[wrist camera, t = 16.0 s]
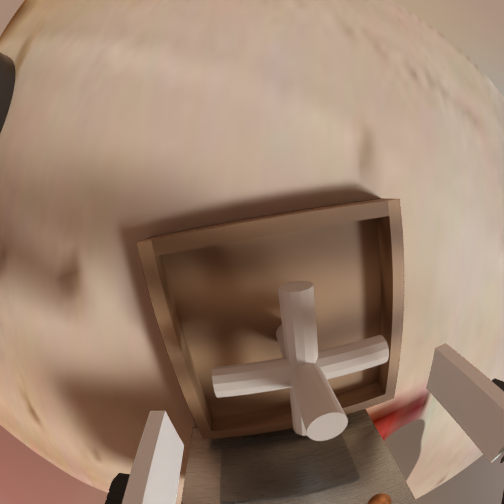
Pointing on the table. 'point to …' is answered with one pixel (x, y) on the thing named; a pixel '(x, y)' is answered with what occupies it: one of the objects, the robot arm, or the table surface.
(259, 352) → the tray
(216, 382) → the pipe connector
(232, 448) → the box
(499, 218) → the table surface
